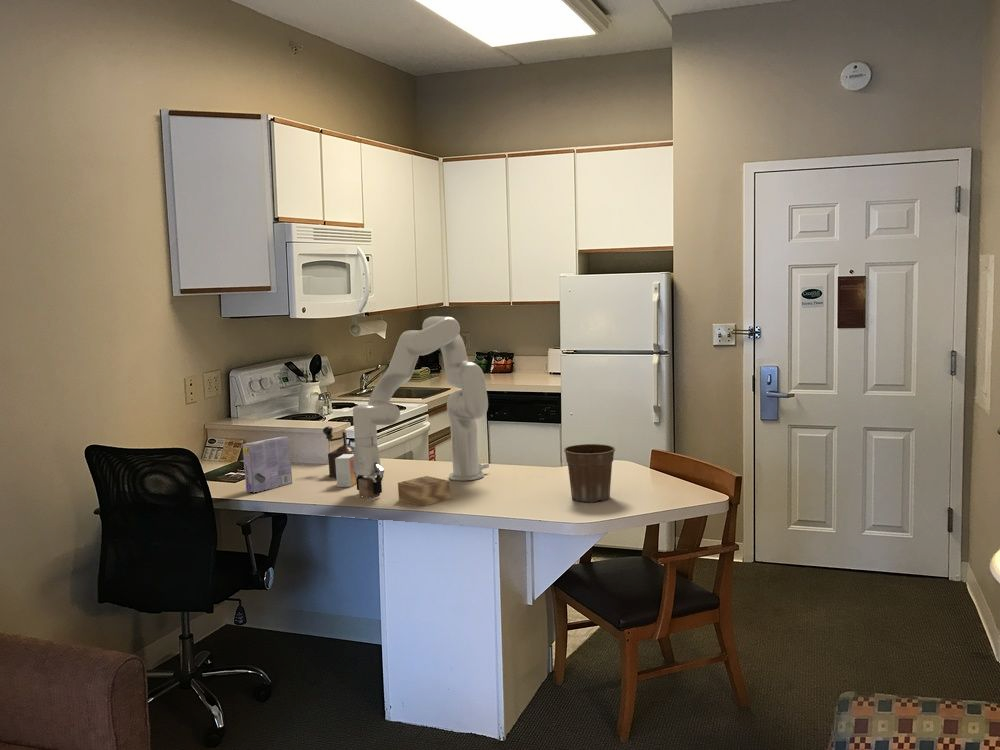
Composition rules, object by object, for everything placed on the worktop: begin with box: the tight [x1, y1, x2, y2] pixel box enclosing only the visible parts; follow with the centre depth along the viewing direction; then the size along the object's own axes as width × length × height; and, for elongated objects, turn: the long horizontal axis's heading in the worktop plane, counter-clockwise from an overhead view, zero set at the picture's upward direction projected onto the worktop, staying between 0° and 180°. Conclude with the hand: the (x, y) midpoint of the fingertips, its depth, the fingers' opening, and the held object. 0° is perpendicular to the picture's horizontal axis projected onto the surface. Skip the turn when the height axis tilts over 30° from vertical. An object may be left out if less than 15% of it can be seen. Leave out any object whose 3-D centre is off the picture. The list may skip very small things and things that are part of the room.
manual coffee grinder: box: [322, 426, 354, 478], centre depth 345 cm, size 16×11×18 cm
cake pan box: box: [242, 436, 293, 494], centre depth 328 cm, size 19×5×18 cm, turn 145°
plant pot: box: [563, 443, 616, 503], centre depth 290 cm, size 16×16×16 cm
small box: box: [335, 454, 357, 488], centre depth 327 cm, size 8×6×10 cm
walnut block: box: [358, 476, 381, 499], centre depth 309 cm, size 5×5×6 cm
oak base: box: [397, 475, 451, 507], centre depth 299 cm, size 12×12×6 cm
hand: (369, 491), depth 309 cm, fingers open, 9 cm apart
